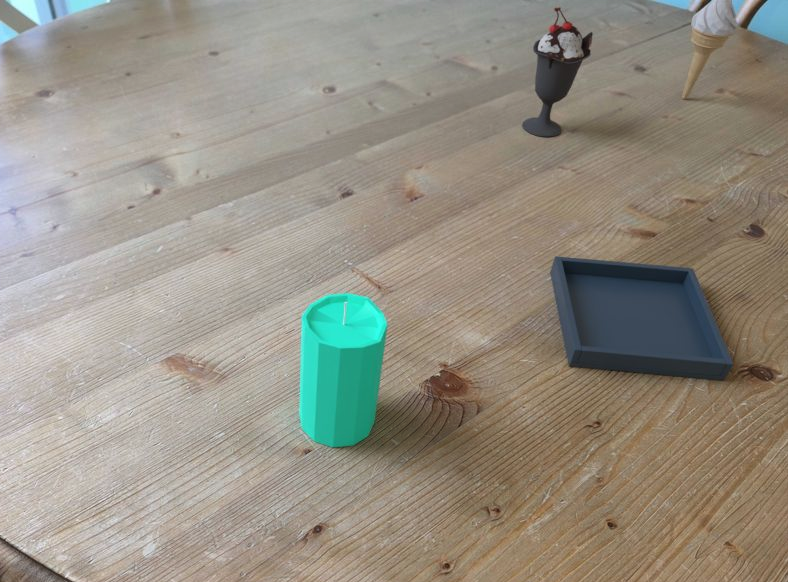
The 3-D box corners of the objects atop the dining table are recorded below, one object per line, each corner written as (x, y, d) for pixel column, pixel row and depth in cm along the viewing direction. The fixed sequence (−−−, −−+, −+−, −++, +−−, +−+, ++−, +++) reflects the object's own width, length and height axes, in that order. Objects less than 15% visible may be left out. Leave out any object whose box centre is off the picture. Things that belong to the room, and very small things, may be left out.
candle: (316, 457, 56) (323, 341, 48) (287, 401, 60) (288, 286, 52) (387, 434, 58) (405, 319, 50) (354, 382, 62) (366, 267, 54)
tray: (685, 284, 73) (693, 268, 72) (724, 380, 64) (734, 364, 63) (550, 272, 74) (555, 256, 73) (568, 366, 65) (574, 349, 63)
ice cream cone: (670, 86, 106) (712, -27, 96) (710, 97, 104) (758, -17, 94) (658, 99, 103) (700, -16, 92) (699, 112, 101) (747, -5, 90)
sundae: (505, 127, 95) (532, 5, 85) (532, 110, 99) (562, -9, 89) (550, 146, 92) (584, 22, 82) (577, 128, 96) (613, 7, 86)
